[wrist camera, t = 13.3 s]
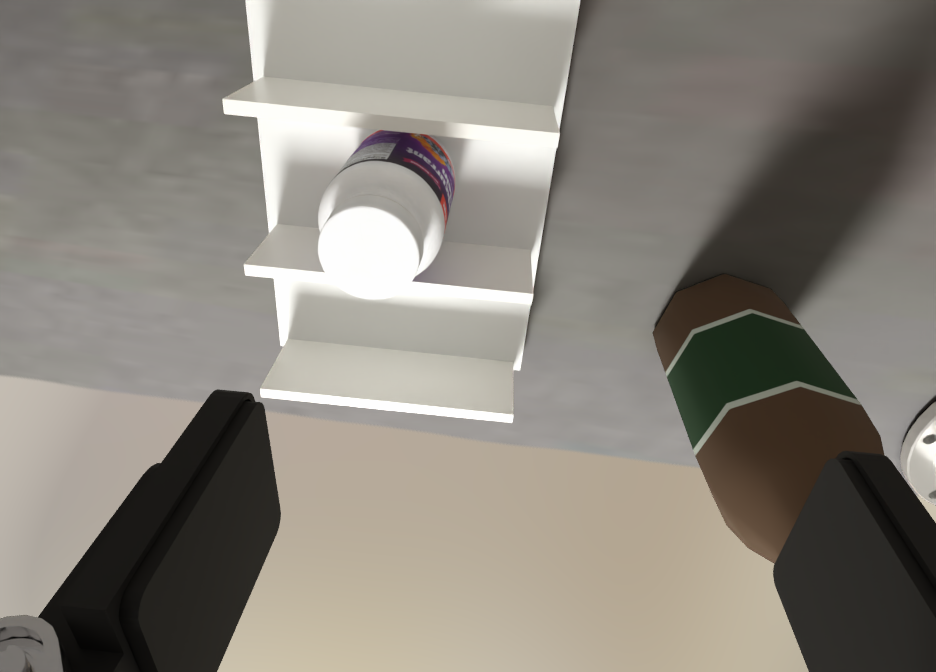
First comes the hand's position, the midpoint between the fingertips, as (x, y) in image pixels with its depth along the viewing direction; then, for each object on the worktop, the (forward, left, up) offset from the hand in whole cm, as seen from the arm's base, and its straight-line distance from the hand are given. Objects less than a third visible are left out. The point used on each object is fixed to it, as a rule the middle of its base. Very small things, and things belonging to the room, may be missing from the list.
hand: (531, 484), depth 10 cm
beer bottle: (-14, +11, -25) cm, 31 cm away
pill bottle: (+5, +3, -24) cm, 24 cm away
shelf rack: (+5, +3, -25) cm, 26 cm away
